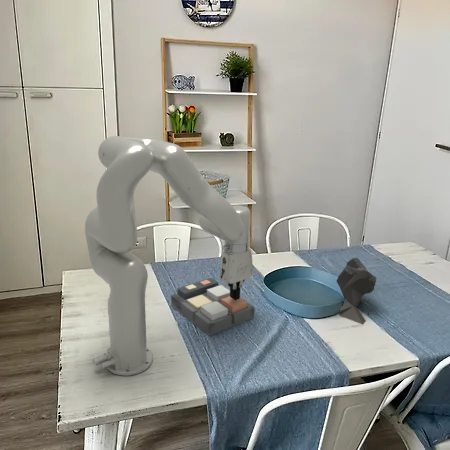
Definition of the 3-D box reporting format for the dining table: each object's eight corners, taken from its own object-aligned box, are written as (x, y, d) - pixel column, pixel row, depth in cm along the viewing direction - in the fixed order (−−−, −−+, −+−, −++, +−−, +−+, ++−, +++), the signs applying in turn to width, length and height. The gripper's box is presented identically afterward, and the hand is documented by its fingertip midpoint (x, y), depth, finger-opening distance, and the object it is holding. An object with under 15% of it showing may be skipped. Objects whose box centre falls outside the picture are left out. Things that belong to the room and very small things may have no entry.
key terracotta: (232, 315, 138) (232, 307, 137) (220, 307, 142) (221, 299, 141) (246, 309, 141) (247, 301, 140) (235, 302, 146) (235, 294, 145)
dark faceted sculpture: (380, 306, 152) (388, 259, 146) (362, 324, 141) (370, 274, 135) (342, 293, 160) (348, 248, 154) (322, 308, 149) (328, 260, 143)
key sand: (197, 315, 139) (197, 307, 138) (186, 307, 144) (186, 299, 143) (212, 309, 143) (212, 301, 142) (201, 302, 147) (201, 294, 146)
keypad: (209, 336, 132) (209, 316, 130) (171, 305, 148) (171, 288, 146) (253, 317, 142) (254, 299, 140) (213, 291, 159) (214, 274, 156)
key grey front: (212, 323, 133) (212, 314, 132) (200, 314, 137) (201, 306, 136) (227, 317, 137) (227, 308, 136) (216, 309, 141) (216, 301, 140)
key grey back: (217, 304, 144) (217, 296, 143) (206, 297, 148) (206, 289, 147) (231, 299, 147) (231, 291, 146) (220, 292, 152) (220, 285, 151)
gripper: (225, 255, 127) (223, 310, 133) (262, 244, 136) (259, 296, 142) (210, 247, 133) (209, 300, 139) (247, 236, 142) (244, 287, 148)
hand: (234, 297), depth 141 cm, fingers closed
